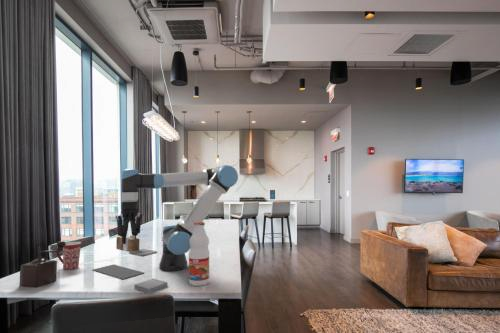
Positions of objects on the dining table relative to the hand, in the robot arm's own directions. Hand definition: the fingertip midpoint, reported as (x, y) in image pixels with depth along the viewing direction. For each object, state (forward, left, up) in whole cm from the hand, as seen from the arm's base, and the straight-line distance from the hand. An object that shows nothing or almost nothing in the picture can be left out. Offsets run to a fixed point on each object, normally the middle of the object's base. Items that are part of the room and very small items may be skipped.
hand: (128, 249), depth 141 cm
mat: (-5, -17, -14) cm, 23 cm away
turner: (0, +4, 0) cm, 4 cm away
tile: (0, +12, -14) cm, 19 cm away
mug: (+6, -47, -15) cm, 49 cm away
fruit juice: (-16, +31, -15) cm, 38 cm away
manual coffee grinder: (+23, -33, -15) cm, 43 cm away
